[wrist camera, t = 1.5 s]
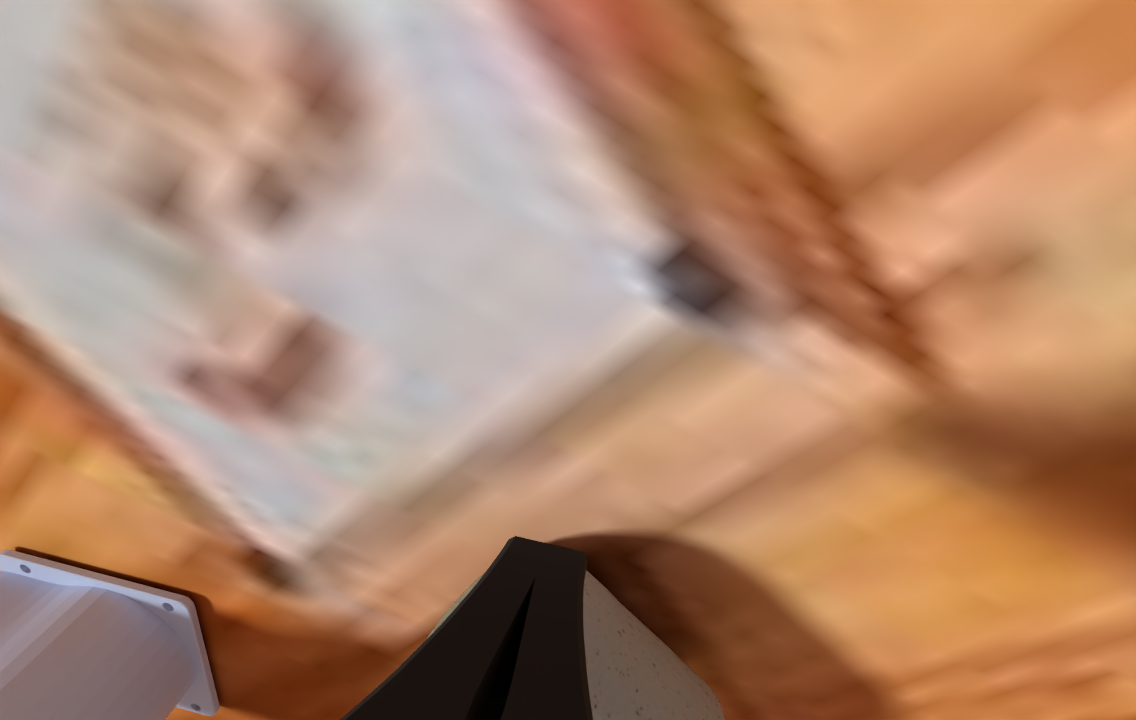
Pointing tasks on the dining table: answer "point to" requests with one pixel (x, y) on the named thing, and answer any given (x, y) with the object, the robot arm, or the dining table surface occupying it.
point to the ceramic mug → (632, 666)
